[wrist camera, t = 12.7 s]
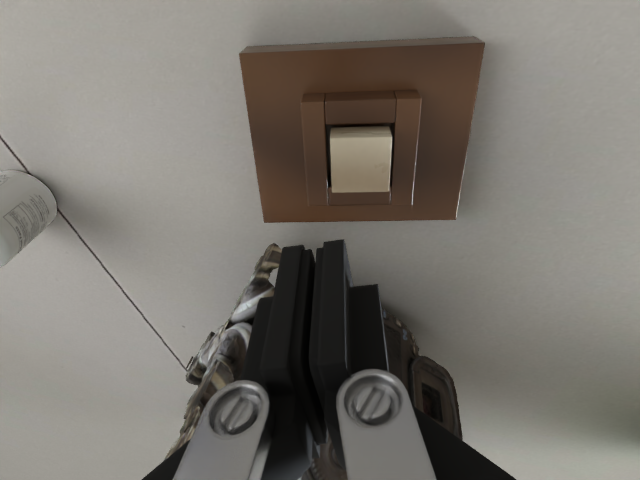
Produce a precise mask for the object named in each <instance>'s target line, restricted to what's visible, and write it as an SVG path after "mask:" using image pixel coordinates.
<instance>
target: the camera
mask: <svg viewBox="0 0 640 480" xmlns="http://www.w3.org/2000/svg"><path fill="white" fill-rule="evenodd" d="M281 253H282V250H281V249H280V248H279V246H278V245H277V244H275V243H273V244H271V245H270V246H269V247H268V248H267V249H266V251H265V253H264V256H262V257H261V258H260V259H259V261H258V262H257V264H256V266H255V272H254V273H253V275H252V276H251V279H250V280H249V282H248V284H247V285H246V287H245V288H244V290H243V291H242V293H241V295H240V296H239V298H238V300H237V302H236V305H235V306H234V308H233V311H232V313H231V316H230V318H229V319H228V321H227V322H226V323H225V325H222V326H221V327H219V328H218V329H217V331H216V333H214V332H211V333H210V334H209V336H208V337H207V339H206V341H205V343H203V345H202V346H201V349H200V351H199V352H198V354H197V355H196V357H195V358H194V360H193V362H192V364H191V366H190V368H189V370H188V372H187V375H186V381H187V382H188V383H191V384H194V385H199V387H198V389H197V390H196V391H195V392H194V393H193V395H192V396H191V398H190V400H189V402H188V404H187V407H186V413H185V415H184V419H186V420H185V422H184V424H183V426H182V428H181V430H180V437H179V438H178V440H177V441H176V442H175V443H174V444H173V445H172V447H171V449H170V450H169V452H168V453H167V455H166V457H165V460H166V459H167V458H168V457H169V456H171V455H172V454H173V453H174V452H175V451H176V450H178V449H179V448H180V447H181V446H182V445H184V444H185V443H186V442H187V441H188V440H190V439H191V437H192V435H193V433H194V430H195V428H196V426H197V424H198V421H199V419H200V417H201V414H202V412H203V410H204V408H205V406H206V404H207V403H208V401H209V399H210V398H211V397H212V396H213V395H214V394H215V393H216V392H217V391H218V390H219V389H221V388H222V387H224V386H226V385H227V384H230V383H233V382H235V381H240V378H241V374H242V369H243V365H244V361H245V356H246V352H247V348H248V343H249V339H250V335H251V330H252V326H253V322H254V317H255V313H256V309H257V304H258V301H259V299H260V298H263V297H271V296H273V295H274V290H275V288H274V286H273V285H272V284H271V283H270V282H269V280H268V279H269V277H270V273H271V272H272V270H273V269H276V268H278V267H279V263H280V258H281ZM381 309H382V308H381ZM382 316H383V324H384V332H385V340H386V348H387V357H388V365H389V373H391V374H393V375H395V376H396V377H397V378H398V379H399V380H400V381H401V382H402V383H403V384H404V386H405V388H406V390H407V392H408V395H409V398H410V401H411V404H412V405H413V406H415V407H416V408H417V409H419V410H420V411H421V412H423V413H424V414H426V415H427V416H428V417H430V418H431V419H433V420H434V421H435V422H437V423H438V424H440V425H441V426H442V427H444V428H445V429H447V430H448V431H449V432H451V433H452V434H454V435H455V436H456V437H458V438H459V439H461V440H462V431H461V423H460V416H459V409H458V406H459V405H458V401H457V394H456V389H455V386H454V381H453V379H452V377H451V376H450V374H449V373H448V371H447V370H446V369H445V368H444V367H442V366H440V365H438V364H437V363H436V362H435V361H433V360H431V359H430V358H428V357H425V356H419V354H418V351H419V348H418V346H417V345H416V341H415V339H414V337H413V334H412V333H410V331H409V330H408V328H407V327H406V326H405V324H404V323H402V322H401V321H400V320H398V319H397V318H395V317H394V316H393V315H391V314H390V313H388V312H387V311H385V310H384V309H382ZM192 359H193V356H192V358H191V359H190V361H189V363H188V365H187V367H186V368H188V366H189V364H190V363H191V361H192ZM165 460H164V461H165ZM302 480H348V477H347V471H346V470H345V469H344V468H343V467H342V466H341V465H340V464H339V463H338V459H337V456H336V453H335V450H334V447H333V444H332V441H331V438H330V435H329V432H328V441H327V444H320V458H313V459H312V460H311V466H310V467H309V468H308V469H307V470H306V471H305V472H304V474H303V475H302Z"/></svg>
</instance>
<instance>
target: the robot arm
mask: <svg viewBox="0 0 640 480" xmlns="http://www.w3.org/2000/svg"><path fill="white" fill-rule="evenodd" d="M328 432H329V435H330V438H331V441H332V444H333V447H334V450H335V453H336V456H337V459H338V463H339V464H340V465H341V466H342V467H343V468H344V469H345V470H346V471H347V477H348V480H516V479H515V478H514V477H512V476H511V475H509V474H508V473H507V472H505V471H504V470H502V469H501V468H500V467H498V466H497V465H495V464H494V463H493V462H491V461H490V460H489V459H487V458H486V457H484V456H483V455H482V454H480V453H479V452H477V451H476V450H475V449H473V448H472V447H470V446H469V445H468V444H466V443H465V442H463V441H462V440H461V439H459V438H458V437H456V436H455V435H454V434H452V433H451V432H449V431H448V430H447V429H445V428H444V427H442V426H441V425H440V424H438V423H437V422H435V421H434V420H433V419H431V418H430V417H428V416H427V415H426V414H424V413H423V412H421V411H420V410H419V409H417V408H416V407H415V406H413V405H412V404H411V401H410V398H409V395H408V392H407V390H406V388H405V386H404V384H403V383H402V382H401V381H400V380H399V379H398V378H397V377H396V376H395V375H393V374H391V373H389V365H388V357H387V348H386V340H385V332H384V324H383V316H382V309H381V302H380V295H379V288H378V284H375V285H366V286H357V287H353V282H352V277H351V271H350V266H349V261H348V256H347V250H346V245H345V241H344V239H343V240H335V241H328V242H324V245H323V248H317V250H316V263H315V259H314V255H313V252H312V250H311V249H308V250H305V247H304V245H298V246H290V247H284V248H283V249H282V253H281V258H280V263H279V269H278V274H277V279H276V284H275V290H274V295H273V296H271V297H263V298H260V299H259V301H258V304H257V309H256V313H255V317H254V322H253V326H252V330H251V335H250V339H249V343H248V348H247V352H246V356H245V361H244V365H243V369H242V374H241V378H240V381H235V382H233V383H230V384H227V385H226V386H224V387H222V388H221V389H219V390H218V391H217V392H216V393H215V394H214V395H213V396H212V397H211V398H210V399H209V401H208V403H207V404H206V406H205V408H204V410H203V412H202V414H201V417H200V419H199V421H198V424H197V426H196V428H195V430H194V433H193V435H192V437H191V439H190V440H188V441H187V442H186V443H185V444H184V445H182V446H181V447H180V448H179V449H178V450H176V451H175V452H174V453H173V454H172V455H171V456H169V457H168V458H167V459H166V460H165V461H163V462H162V463H161V464H160V465H159V466H157V467H156V468H155V469H154V470H153V471H151V472H150V473H149V474H148V475H147V476H146V477H144V478H143V479H142V480H302V475H303V474H304V472H305V471H306V470H307V469H308V468H309V467H310V466H311V460H312V459H313V458H320V444H327V441H328Z"/></svg>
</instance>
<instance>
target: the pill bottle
mask: <svg viewBox="0 0 640 480" xmlns="http://www.w3.org/2000/svg"><path fill="white" fill-rule="evenodd" d="M56 214H57V204H56V201H55V198H54V196H53V194H52V193H51V191H50V190H49V189H48V188H47V186H45V185H44V184H43V183H42V182H41V181H39V180H38V179H36V178H35V177H33V176H31V175H29V174H26V173H23V172H20V171H16V170H5V171H0V267H2V266H4V265H5V264H7V263H8V262H9V261H10V260H11V259H12V258H14V257H15V256H16V255H17V254H18V253H19V252H20V251H21V250H22V249H23V248H24V247H25V246H26V245H27V244H29V243H30V242H31V241H32V240H33V239H34V238H35V237H36V236H37V235H38V234H39V233H41V232H42V231H43V230H44V229H45V228H46V227H47V226H48V225H49V224H50V223H51V222H52V221H53V220H54V219H55V217H56Z"/></svg>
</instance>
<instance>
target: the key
mask: <svg viewBox="0 0 640 480" xmlns="http://www.w3.org/2000/svg"><path fill="white" fill-rule="evenodd" d="M391 149H392V135H391V131H390V127H389V126H371V127H339V128H331V132H330V154H331V182H332V193H345V192H389V187H390V168H391Z"/></svg>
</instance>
